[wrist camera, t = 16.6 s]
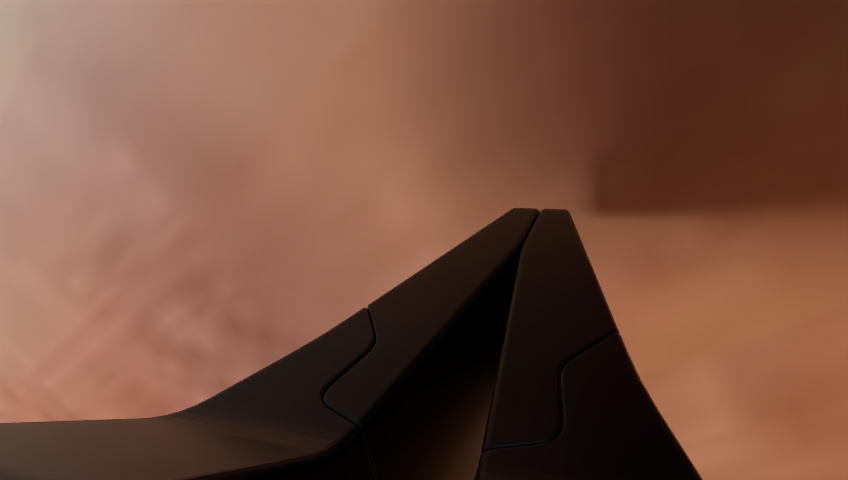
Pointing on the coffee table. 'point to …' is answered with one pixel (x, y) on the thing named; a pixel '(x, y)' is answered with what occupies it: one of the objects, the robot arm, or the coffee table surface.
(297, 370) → the robot arm
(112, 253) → the coffee table surface
